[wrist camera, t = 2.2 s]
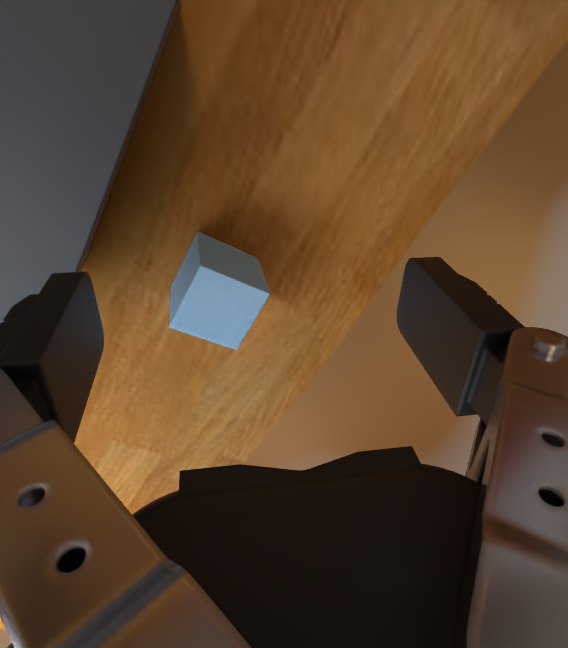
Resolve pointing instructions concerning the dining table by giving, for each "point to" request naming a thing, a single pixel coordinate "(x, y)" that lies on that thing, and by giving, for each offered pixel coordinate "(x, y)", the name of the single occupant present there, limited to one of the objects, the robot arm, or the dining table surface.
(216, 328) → the blue block
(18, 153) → the cabinet
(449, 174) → the dining table surface
